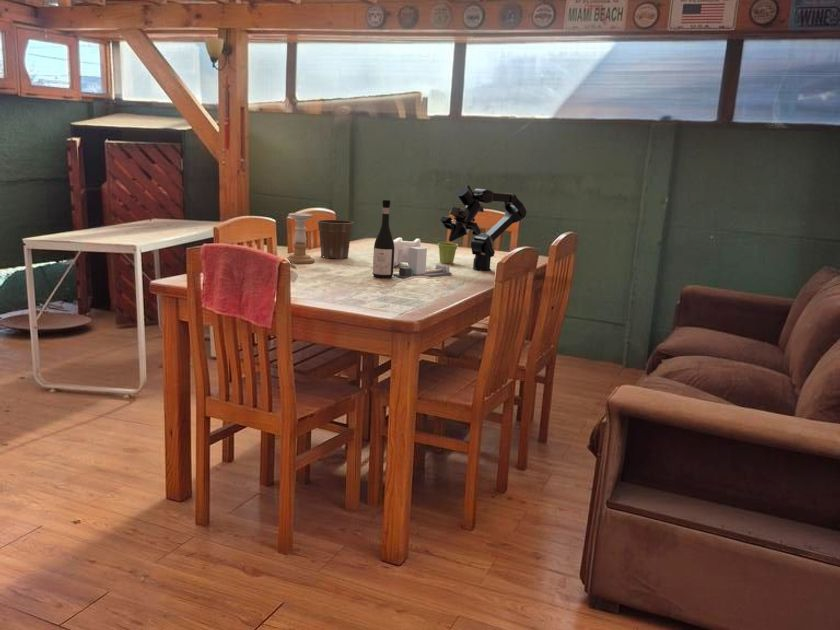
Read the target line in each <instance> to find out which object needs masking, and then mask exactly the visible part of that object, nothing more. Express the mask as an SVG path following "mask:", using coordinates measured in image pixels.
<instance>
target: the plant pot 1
mask: <svg viewBox="0 0 840 630" xmlns="http://www.w3.org/2000/svg"><path fill="white" fill-rule="evenodd" d="M316 221H317V225H318V231H319V243H320V244H319V245H320V256H321V257H322V256H324V257H328V258H327V259H331V258H333V259H339V258H342V259H347V258H349V251H350V242H351V233H352V230H353V225H354V223H355V222H354V221H350V220H345V219H344V220H342V219H341V220H340V219H321V220H320V219H318V220H316ZM324 257H323V258H324Z"/></svg>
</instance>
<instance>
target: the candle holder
mask: <svg viewBox="0 0 840 630" xmlns="http://www.w3.org/2000/svg"><path fill="white" fill-rule="evenodd" d="M288 217H289V218H293V220H294V222H295V223H296V225H295V227H294V229H295V233H294V237H293V241H294V243H293V245H292V246H293V248H294V250H293V252H294V253H292V254H289V256H286V257H285V258H287V259H288V260H289V261H290V262H293V263H292V264H297V263H308V264H313V263H315V259H314V258H315V257H312V256H311V255H310V254H306V252H307V251H306V249H307V247H308V244H307V243H306V242H307V238H308V237H307V234H306V230H307V227H306V225H305V224H306V223H307V220H308V219H313V217H314V214H313V213H302V212H290V213H288ZM312 262H313V263H312Z"/></svg>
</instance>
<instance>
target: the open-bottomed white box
mask: <svg viewBox="0 0 840 630" xmlns="http://www.w3.org/2000/svg"><path fill="white" fill-rule="evenodd" d="M427 251H428V248H426V247H421V246H420V247H409V261H408V263H407V264H408V265H407V267H408V268H411V269H413V271H414V274H415V275H419V274H425V271H426V270H427V269H426V268H427V267H426V266H427Z"/></svg>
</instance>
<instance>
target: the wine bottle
mask: <svg viewBox="0 0 840 630" xmlns="http://www.w3.org/2000/svg"><path fill="white" fill-rule="evenodd" d="M381 203H382V217H381V225H380V229H379V232H378V234H377V235H376V238H375V241H374V245H373V256H372V257H373V258H372V259H373V260H372V275H373V277H375V278H379V279H390V278H392V277H394V276H393V274H394V267H395V266H394V242H393V241H394V238H393V235H392V233H391V229H390V206H391V200H390V199H382V202H381Z"/></svg>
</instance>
